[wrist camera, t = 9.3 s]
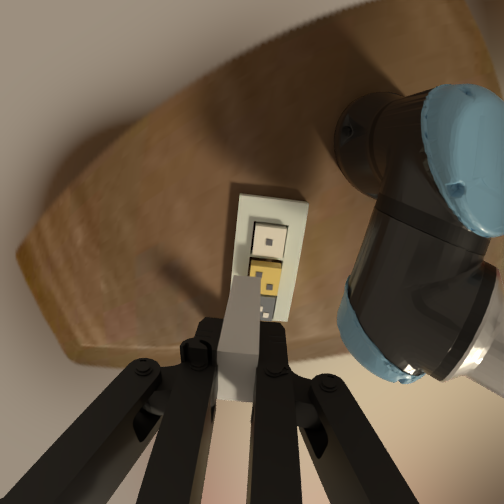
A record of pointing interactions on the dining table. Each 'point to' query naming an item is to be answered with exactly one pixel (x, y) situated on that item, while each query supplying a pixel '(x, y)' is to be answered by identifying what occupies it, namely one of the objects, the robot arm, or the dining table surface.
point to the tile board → (295, 219)
